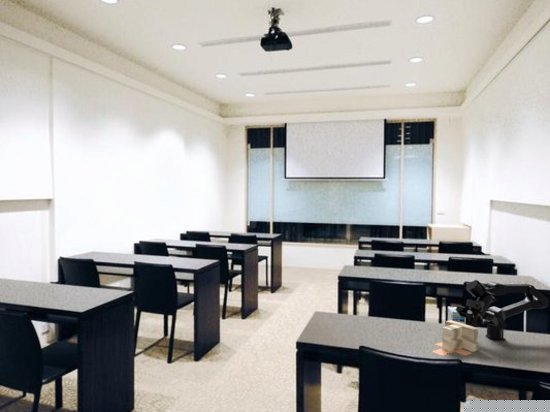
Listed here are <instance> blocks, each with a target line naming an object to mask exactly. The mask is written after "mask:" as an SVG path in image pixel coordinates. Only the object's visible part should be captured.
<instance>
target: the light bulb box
mask: <svg viewBox="0 0 550 412" xmlns="http://www.w3.org/2000/svg"><path fill="white" fill-rule="evenodd" d="M456 308H457V306H447V321H449V320H452V321H455V322H459V323H462V324H465V325H467V320H466V319H467V318H465V317H462V316H460V315H459V314H458V312H457V311H456Z"/></svg>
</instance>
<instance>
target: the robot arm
mask: <svg viewBox="0 0 550 412" xmlns="http://www.w3.org/2000/svg"><path fill="white" fill-rule="evenodd" d="M465 289H466V291H468V292H469V293H470V294H471V295H472V297H474V298H477V299H476V300H472V299H468V298H467V300H466V304H465V306H462V305H457V306H456V307H457V308H456V311H457V312H458V314H459V315H460V316H462V317H465V318H466V319H468V321H467V325H469V326H472V327H475V328H478V327H479V326H481V325H485V324H486V325H487V328H486V334H485V337H486V338H489V339H490V340H492V341H506V340H507V339H506V337H504V331H505V329H506V328H507V326H508V324H507V322H506V319H507V318H509V317H512V316H514V315H515V316H516V315H518V314H520V313H524V312H526V311H529V310H532V309H539V310H540V309H545V308H547V307H548V306H549V304H550V299H549V298H548V296H546V295H544V293H542V292H541V291H539V290H538V289H537V288H536V287H535V286H534V285H532V284H529V283H517V284H516V283H507V284H506V283H499V282H495V281H488V282H487V283H484V284H481V282H480V281H479V280H478V279H474V280H472V281H470V282H468V283H467V284H466V287H465ZM514 293H515V294H516V293H517V294H519V293H520V294H521V293H522V294H523V293H524V295H525V298H524V299H523V300H520V301H519V302H515V303H512V304H509V305H507V306H504V307H501V308H499V307H497V306H491V307H490V305H491V303H497V299H496V297H495V296H497V297H498V296H499V297H501V296H504V295H506V294H514ZM493 295H494V296H493ZM466 307H468V309H467V308H466Z"/></svg>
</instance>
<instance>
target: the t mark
mask: <svg viewBox="0 0 550 412" xmlns="http://www.w3.org/2000/svg"><path fill="white" fill-rule="evenodd" d="M434 345H435V346H438V347H441V348H439V349H434V350H433V351H430V352H431V353H433V354H436V355H439V356H441V357H443V356H445V355H446V356H447V355H449V353H450V354H452V353H456V354H460V355H461V356H462V355H463V356H466V357H467V356H468V355H471V354H473V352H471V351H469V350H466V349H463V348H462V349H458V350H455V351H452V352H449V351H446V350H444V349H442V341H441V342H437V343H435V344H434ZM447 353H448V354H447Z"/></svg>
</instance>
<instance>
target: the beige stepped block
mask: <svg viewBox="0 0 550 412" xmlns="http://www.w3.org/2000/svg"><path fill="white" fill-rule="evenodd" d="M444 322H445V324H444V326H442V332H441V333H442V335H441V336H442V338H441V342H442V347H441V348H442V349H444V350H446V351H449V352H452V351H455V350H458V349H463V350H466V351H468V352H471V353H473V352H477V351H478V350H479V327H472V326H469V325H468V324H466V325H465V324H462V323H459V322H455V321H452V320H449V321H448V320H446V321H444Z"/></svg>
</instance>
